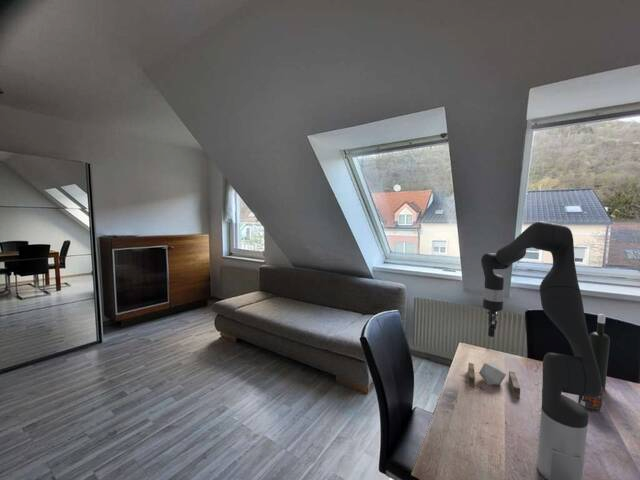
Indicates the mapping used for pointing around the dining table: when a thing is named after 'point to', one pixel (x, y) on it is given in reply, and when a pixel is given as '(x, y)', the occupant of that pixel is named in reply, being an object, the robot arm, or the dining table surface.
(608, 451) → the dining table surface
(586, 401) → the supplement bottle
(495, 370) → the die
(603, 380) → the wine bottle
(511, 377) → the pair of wooden rails
